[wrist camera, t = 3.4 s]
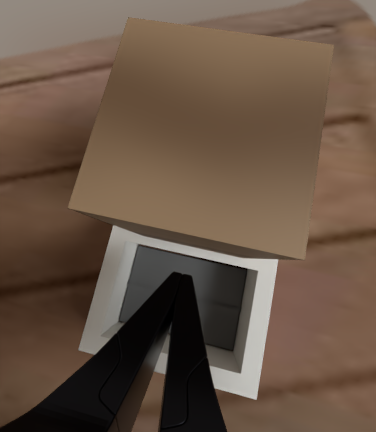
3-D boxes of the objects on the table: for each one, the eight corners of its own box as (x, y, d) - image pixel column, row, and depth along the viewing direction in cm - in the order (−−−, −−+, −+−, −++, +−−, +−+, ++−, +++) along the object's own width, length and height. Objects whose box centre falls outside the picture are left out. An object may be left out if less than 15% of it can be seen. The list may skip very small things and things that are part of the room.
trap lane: (245, 371, 15) (256, 399, 12) (101, 332, 16) (78, 350, 13) (293, 79, 18) (311, 45, 15) (173, 61, 19) (169, 26, 16)
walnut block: (242, 258, 13) (304, 259, 5) (143, 236, 14) (67, 208, 6) (259, 162, 14) (334, 44, 6) (166, 145, 15) (128, 17, 7)
